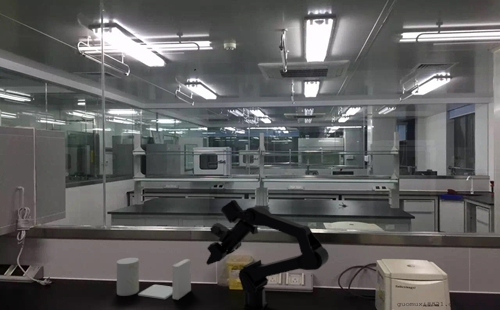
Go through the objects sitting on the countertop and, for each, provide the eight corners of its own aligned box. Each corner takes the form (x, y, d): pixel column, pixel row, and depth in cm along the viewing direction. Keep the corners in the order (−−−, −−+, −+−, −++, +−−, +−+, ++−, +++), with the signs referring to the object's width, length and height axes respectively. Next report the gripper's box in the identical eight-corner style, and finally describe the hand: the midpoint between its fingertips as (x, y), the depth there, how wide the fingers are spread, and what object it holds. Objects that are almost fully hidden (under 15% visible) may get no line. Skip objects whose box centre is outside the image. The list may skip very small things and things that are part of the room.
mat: (179, 289, 127) (179, 287, 127) (164, 299, 117) (164, 297, 117) (154, 285, 131) (154, 284, 131) (138, 295, 121) (138, 293, 121)
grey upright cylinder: (131, 296, 121) (131, 264, 121) (112, 295, 122) (112, 263, 123) (142, 288, 128) (142, 258, 129) (124, 286, 130) (124, 257, 130)
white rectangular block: (190, 290, 125) (190, 259, 126) (178, 299, 117) (178, 266, 117) (185, 289, 126) (184, 259, 127) (172, 298, 118) (171, 265, 118)
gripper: (233, 212, 125) (208, 239, 129) (212, 220, 108) (184, 251, 111) (252, 234, 122) (226, 260, 126) (234, 245, 105) (204, 276, 108)
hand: (211, 261), depth 118 cm, fingers open, 6 cm apart
